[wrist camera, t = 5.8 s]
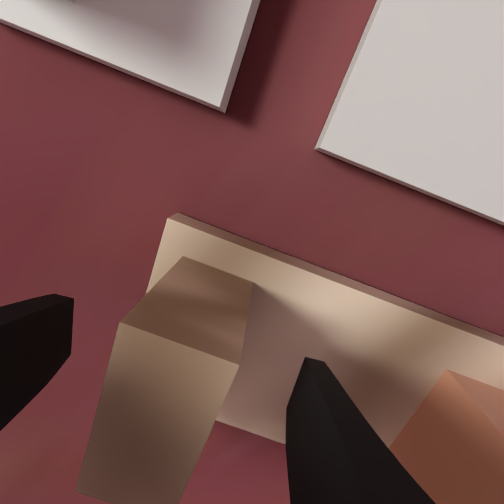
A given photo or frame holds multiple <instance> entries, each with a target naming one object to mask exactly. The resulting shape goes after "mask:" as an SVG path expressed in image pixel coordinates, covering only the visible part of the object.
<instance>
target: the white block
mask: <svg viewBox="0 0 504 504" xmlns="http://www.w3.org/2000/svg"><path fill="white" fill-rule="evenodd" d="M259 3H260V0H0V23H3V24H5V25H8V26H10V27H13V28H15V29H18V30H20V31H23V32H25V33H28V34H30V35H33V36H35V37H37V38H40V39H42V40H45V41H47V42H50V43H52V44H55V45H57V46H60V47H62V48H65V49H67V50H70V51H72V52H75V53H77V54H80V55H82V56H85V57H87V58H89V59H92V60H94V61H97V62H99V63H102V64H104V65H107V66H109V67H112V68H114V69H117V70H119V71H122V72H124V73H127V74H129V75H132V76H134V77H137V78H139V79H141V80H144V81H146V82H149V83H151V84H154V85H156V86H159V87H161V88H164V89H166V90H169V91H171V92H174V93H176V94H179V95H181V96H184V97H186V98H189V99H191V100H193V101H196V102H198V103H201V104H203V105H206V106H208V107H211V108H213V109H216V110H218V111H221V112H223V113H225V112H226V108H227V105H228V102H229V99H230V96H231V92H232V89H233V86H234V83H235V80H236V77H237V73H238V70H239V67H240V64H241V61H242V57H243V54H244V51H245V48H246V45H247V42H248V38H249V35H250V32H251V29H252V26H253V22H254V19H255V16H256V13H257V10H258V7H259ZM315 150H317V151H320V152H322V153H325V154H327V155H330V156H332V157H335V158H337V159H340V160H342V161H345V162H347V163H349V164H352V165H354V166H357V167H359V168H362V169H364V170H367V171H369V172H372V173H374V174H377V175H379V176H382V177H384V178H387V179H389V180H392V181H394V182H397V183H399V184H401V185H404V186H406V187H409V188H411V189H414V190H416V191H419V192H421V193H424V194H426V195H429V196H431V197H434V198H436V199H439V200H441V201H444V202H446V203H449V204H451V205H453V206H456V207H458V208H461V209H463V210H466V211H468V212H471V213H473V214H476V215H478V216H481V217H483V218H486V219H488V220H491V221H493V222H496V223H498V224H501V225H503V226H504V0H377V2H376V4H375V6H374V9H373V11H372V13H371V16H370V18H369V21H368V23H367V25H366V28H365V30H364V32H363V35H362V37H361V40H360V42H359V44H358V47H357V49H356V51H355V54H354V56H353V59H352V61H351V63H350V66H349V68H348V70H347V73H346V75H345V78H344V80H343V82H342V85H341V87H340V89H339V92H338V94H337V97H336V99H335V101H334V104H333V106H332V109H331V111H330V113H329V116H328V118H327V120H326V123H325V125H324V128H323V130H322V132H321V135H320V137H319V139H318V142H317V144H316V147H315Z"/></svg>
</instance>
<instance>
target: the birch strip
mask: <svg viewBox="0 0 504 504" xmlns="http://www.w3.org/2000/svg"><path fill="white" fill-rule="evenodd" d="M305 357H308V358H312V359H316V360H320V361H324V362H325V363H326V364H327V366H328V367H329V368H330V370H331V371H332V373H333V374H334V375H335V377H336V378H337V380H338V381H339V382H340V384H341V385H342V387H343V388H344V390H345V391H346V392H347V394H348V395H349V397H350V398H351V399H352V401H353V402H354V404H355V405H356V406H357V408H358V409H359V411H360V412H361V413H362V415H363V416H364V417H365V419H366V420H367V421H368V423H369V424H370V425H371V427H372V428H373V429H374V431H375V432H376V433H377V435H378V436H379V437H380V438H381V440H382V441H383V442H384V443H385V445H386V446H387V447H388V448H389V447H390V446H391V444H392V443H393V442H394V440H395V439H396V437H397V436H398V435H399V433H400V432H401V431H402V429H403V428H404V426H405V425H406V424H407V422H408V421H409V420H410V418H411V417H412V416H413V414H414V413H415V411H416V410H417V409H418V407H419V406H420V405H421V403H422V402H423V401H424V399H425V398H426V396H427V395H428V394H429V392H430V391H431V390H432V388H433V387H434V385H435V384H436V383H437V381H438V380H439V379H440V377H441V376H442V375H443V373H444V372H445V370H446V369H448V370H450V371H453V372H456V373H458V374H461V375H464V376H466V377H469V378H472V379H474V380H477V381H480V382H482V383H485V384H488V385H490V386H493V387H496V388H498V389H501V390H504V337H501V336H499V335H496V334H493V333H491V332H488V331H485V330H483V329H480V328H478V327H475V326H472V325H470V324H467V323H465V322H462V321H459V320H457V319H454V318H452V317H449V316H446V315H444V314H441V313H438V312H436V311H433V310H431V309H428V308H425V307H423V306H420V305H418V304H415V303H412V302H410V301H407V300H404V299H402V298H399V297H397V296H394V295H391V294H389V293H386V292H384V291H381V290H378V289H376V288H373V287H371V286H368V285H365V284H363V283H360V282H357V281H355V280H352V279H350V278H347V277H344V276H342V275H339V274H337V273H334V272H331V271H329V270H326V269H323V268H321V267H318V266H316V265H313V264H310V263H308V262H305V261H303V260H300V259H297V258H295V257H292V256H290V255H287V254H284V253H282V252H279V251H276V250H274V249H271V248H269V247H266V246H263V245H261V244H258V243H256V242H253V241H250V240H248V239H245V238H243V237H240V236H237V235H235V234H232V233H229V232H227V231H224V230H222V229H219V228H216V227H214V226H211V225H209V224H206V223H203V222H201V221H198V220H195V219H193V218H190V217H188V216H185V215H182V214H180V213H176V214H174V215H172V216H170V217H169V218H167V222H166V225H165V229H164V232H163V236H162V239H161V243H160V246H159V250H158V253H157V257H156V260H155V264H154V267H153V271H152V274H151V278H150V281H149V285H148V288H147V292H146V295H145V296H144V297H143V298H142V299H141V300H140V301H139V302H138V303H137V304H136V305H135V306H134V307H133V309H132V310H131V311H130V312H129V313H128V314H127V315H126V316H125V317H124V318H123V319H122V320H121V321H120V323H119V326H118V330H117V334H116V338H115V342H114V345H113V349H112V353H111V357H110V361H109V364H108V368H107V372H106V376H105V380H104V383H103V387H102V391H101V395H100V399H99V403H98V406H97V410H96V414H95V418H94V422H93V425H92V429H91V433H90V437H89V441H88V444H87V448H86V452H85V456H84V460H83V464H82V467H81V471H80V475H79V479H78V483H77V486H76V490H75V492H78V493H81V494H84V495H87V496H90V497H93V498H96V499H99V500H103V501H106V502H109V503H112V504H179V501H180V499H181V497H182V494H183V492H184V490H185V488H186V485H187V483H188V481H189V479H190V476H191V474H192V472H193V470H194V467H195V465H196V463H197V461H198V458H199V456H200V454H201V452H202V449H203V447H204V445H205V443H206V440H207V438H208V436H209V434H210V431H211V429H212V427H213V425H214V422H215V420H217V421H220V422H222V423H225V424H228V425H231V426H234V427H237V428H240V429H243V430H245V431H248V432H251V433H254V434H257V435H260V436H263V437H266V438H268V439H271V440H274V441H277V442H280V443H283V444H286V407H287V405H288V402H289V399H290V396H291V394H292V391H293V388H294V385H295V383H296V380H297V377H298V374H299V372H300V369H301V366H302V363H303V361H304V358H305Z"/></svg>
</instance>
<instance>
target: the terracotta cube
mask: <svg viewBox="0 0 504 504" xmlns="http://www.w3.org/2000/svg"><path fill="white" fill-rule="evenodd" d="M389 450H390V451H391V452H392V453H393V455H394V456H395V457H396V458H397V460H398V461H399V462H400V463H401V465H402V466H403V467H404V468H405V469H406V470H407V472H408V473H409V474H410V475H411V476H412V477H413V479H414V480H415V481H416V482H417V483H418V484H419V485H420V487H421V488H422V489H423V490H424V491H425V492H426V493H427V494H428V495H429V497H430V498H431V499H432V500H433V501H434V502H435V503H436V504H504V390H501V389H498V388H496V387H493V386H490V385H488V384H485V383H482V382H480V381H477V380H474V379H472V378H469V377H466V376H464V375H461V374H458V373H456V372H453V371H450V370H448V369H446V370H445V372H444V373H443V375H442V376H441V377H440V379H439V380H438V381H437V383H436V384H435V385H434V387H433V388H432V390H431V391H430V392H429V394H428V395H427V396H426V398H425V399H424V401H423V402H422V403H421V405H420V406H419V407H418V409H417V410H416V411H415V413H414V414H413V416H412V417H411V418H410V420H409V421H408V422H407V424H406V425H405V426H404V428H403V429H402V431H401V432H400V433H399V435H398V436H397V437H396V439H395V440H394V442H393V443H392V444H391V446H390V447H389Z"/></svg>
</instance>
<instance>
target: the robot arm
mask: <svg viewBox="0 0 504 504" xmlns="http://www.w3.org/2000/svg"><path fill="white" fill-rule="evenodd" d="M73 308H74V299H73V298H69V297H65V296H61V295H57V294H50V295H45V296H41V297H36V298H32V299H28V300H24V301H21V302H17V303H13V304H9V305H6V306H2V307H0V431H1V430H2V429H3V428H4V427H5V426H6V425H7V424H8V423H9V422H10V421H11V420H12V419H13V418H14V417H15V416H16V415H17V414H18V413H19V412H20V411H21V410H22V409H23V408H24V407H25V406H26V405H27V404H28V403H29V402H30V401H31V400H32V399H33V398H34V397H35V396H36V395H37V394H38V393H39V392H40V391H41V390H42V389H43V388H44V387H45V386H46V385H47V384H48V382H49V381H50V380H51V379H52V378H53V376H54V375H55V374H56V373H57V371H58V370H59V369H60V368H61V366H62V365H63V364H64V362H65V361H66V360H67V359H68V357H69V356H70V355H71V343H72V325H73ZM286 456H287V468H288V480H289V491H290V503H291V504H436V503H435V502H434V501H433V500H432V499H431V498H430V497H429V495H428V494H427V493H426V492H425V491H424V490H423V489H422V488H421V487H420V485H419V484H418V483H417V482H416V481H415V480H414V479H413V477H412V476H411V475H410V474H409V473H408V472H407V470H406V469H405V468H404V467H403V466H402V465H401V463H400V462H399V461H398V460H397V458H396V457H395V456H394V455H393V453H392V452H391V451H390V450H389V448H388V447H387V446H386V445H385V443H384V442H383V441H382V440H381V438H380V437H379V436H378V435H377V433H376V432H375V431H374V429H373V428H372V427H371V425H370V424H369V423H368V421H367V420H366V419H365V417H364V416H363V415H362V413H361V412H360V411H359V409H358V408H357V406H356V405H355V404H354V402H353V401H352V399H351V398H350V397H349V395H348V394H347V392H346V391H345V390H344V388H343V387H342V385H341V384H340V382H339V381H338V380H337V378H336V377H335V375H334V374H333V373H332V371H331V370H330V368H329V367H328V366H327V364H326V363H325V362H324V361H320V360H316V359H312V358H308V357H305V358H304V361H303V363H302V366H301V369H300V372H299V374H298V377H297V380H296V383H295V385H294V388H293V391H292V394H291V396H290V399H289V402H288V405H287V407H286Z"/></svg>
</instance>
